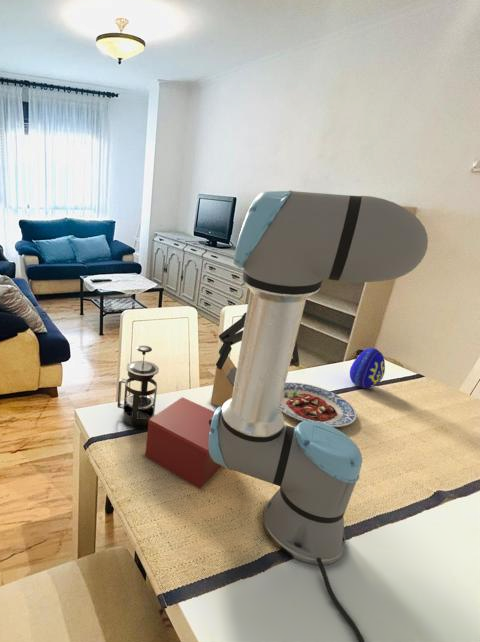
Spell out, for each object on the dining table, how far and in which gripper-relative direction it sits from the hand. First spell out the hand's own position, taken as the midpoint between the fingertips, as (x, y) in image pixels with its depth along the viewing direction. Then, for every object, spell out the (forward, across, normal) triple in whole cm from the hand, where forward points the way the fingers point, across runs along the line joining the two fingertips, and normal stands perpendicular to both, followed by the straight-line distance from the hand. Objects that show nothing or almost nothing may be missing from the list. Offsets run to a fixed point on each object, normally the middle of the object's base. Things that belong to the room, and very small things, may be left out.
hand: (243, 376), depth 93 cm
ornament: (-33, -18, -64) cm, 75 cm away
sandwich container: (0, +8, -31) cm, 32 cm away
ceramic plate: (-11, -9, -43) cm, 45 cm away
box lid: (+16, +6, -1) cm, 17 cm away
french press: (+20, +26, -11) cm, 35 cm away
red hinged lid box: (+23, +6, -8) cm, 25 cm away
